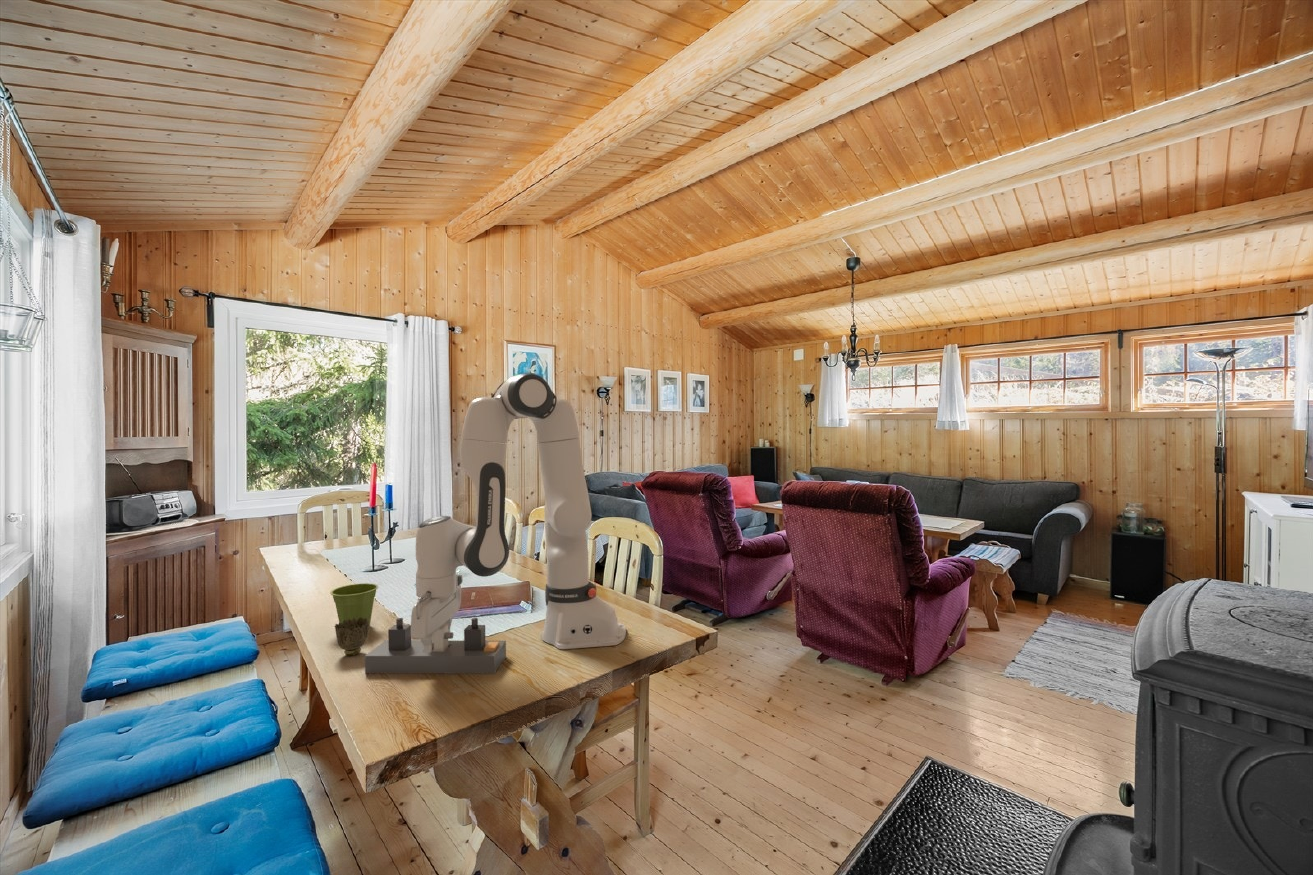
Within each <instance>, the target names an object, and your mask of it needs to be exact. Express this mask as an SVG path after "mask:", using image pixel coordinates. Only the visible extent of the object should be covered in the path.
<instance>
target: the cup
mask: <svg viewBox="0 0 1313 875" xmlns="http://www.w3.org/2000/svg"><path fill="white" fill-rule="evenodd" d="M352 621H353V622H352ZM352 621H351V620H350V619H348V620H347V621H346V620H344V621H343V623H341V622H339V621H338V623H335V624H334V629H335V630H334V631H335V636H336V641H337V644H338V646H339V648H341V650H344V655H345V656H347V657H353V656H357V655H358V654H360V653H361V651H362V648H361V647H363V646H364V645H365V643H366V641H367V638H368V632H369V627H368V624H369V620H368V622H367V619H366V618H365V619H364V618H362V617H360V618H359V619H358V620H356V618H353V620H352Z"/></svg>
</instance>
